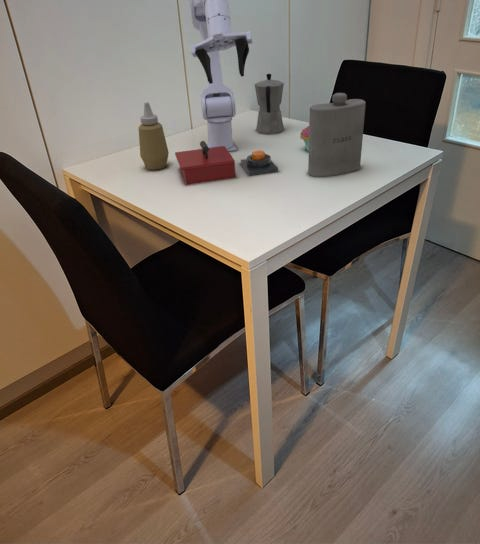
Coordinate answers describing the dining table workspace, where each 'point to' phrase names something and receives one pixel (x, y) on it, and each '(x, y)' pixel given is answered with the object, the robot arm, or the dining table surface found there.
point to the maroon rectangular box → (209, 173)
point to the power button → (258, 155)
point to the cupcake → (305, 137)
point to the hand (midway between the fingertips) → (225, 78)
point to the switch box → (258, 165)
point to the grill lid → (204, 157)
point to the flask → (336, 136)
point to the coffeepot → (269, 106)
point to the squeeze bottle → (152, 141)
